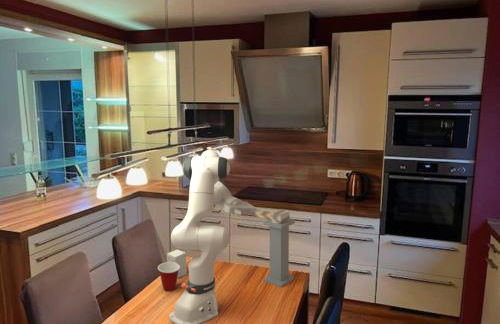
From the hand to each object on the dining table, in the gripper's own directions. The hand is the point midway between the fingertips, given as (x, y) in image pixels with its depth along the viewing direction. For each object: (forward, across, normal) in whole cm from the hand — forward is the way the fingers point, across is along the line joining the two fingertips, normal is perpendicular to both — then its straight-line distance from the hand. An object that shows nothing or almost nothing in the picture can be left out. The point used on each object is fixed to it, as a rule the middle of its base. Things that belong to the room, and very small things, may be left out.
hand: (248, 213), depth 197 cm
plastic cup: (-5, -34, +43) cm, 55 cm away
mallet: (+13, +4, -2) cm, 14 cm away
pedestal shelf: (+22, +13, +28) cm, 38 cm away
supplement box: (-16, -24, +42) cm, 51 cm away
